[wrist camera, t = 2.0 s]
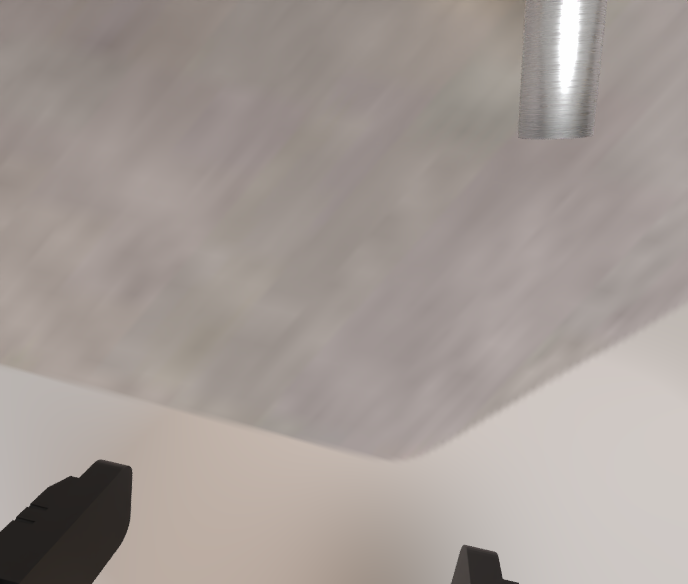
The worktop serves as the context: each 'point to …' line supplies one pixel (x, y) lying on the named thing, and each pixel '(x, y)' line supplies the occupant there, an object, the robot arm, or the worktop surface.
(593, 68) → the shaft
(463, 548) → the robot arm
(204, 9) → the worktop surface
